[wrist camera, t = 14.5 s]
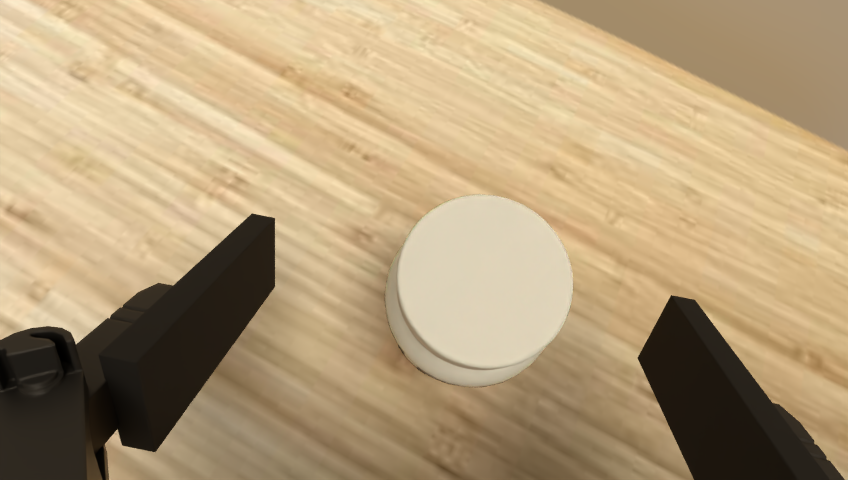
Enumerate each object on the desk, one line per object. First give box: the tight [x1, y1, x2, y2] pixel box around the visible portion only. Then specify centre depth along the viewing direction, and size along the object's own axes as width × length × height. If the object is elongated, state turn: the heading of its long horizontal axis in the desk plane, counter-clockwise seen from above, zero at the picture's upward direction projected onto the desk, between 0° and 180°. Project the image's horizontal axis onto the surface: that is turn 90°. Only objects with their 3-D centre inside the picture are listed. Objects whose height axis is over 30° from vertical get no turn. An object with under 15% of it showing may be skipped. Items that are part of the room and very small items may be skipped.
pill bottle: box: [385, 194, 573, 387], centre depth 16 cm, size 6×6×10 cm
